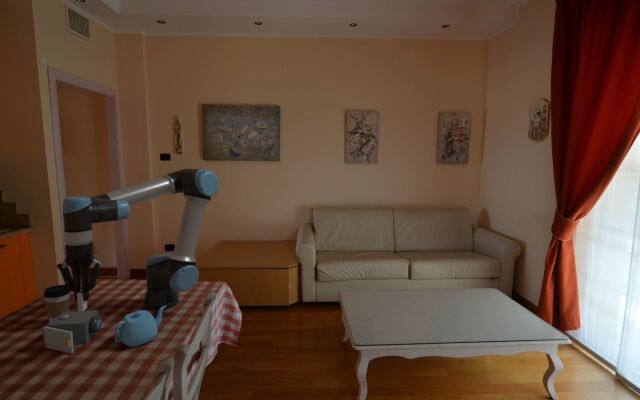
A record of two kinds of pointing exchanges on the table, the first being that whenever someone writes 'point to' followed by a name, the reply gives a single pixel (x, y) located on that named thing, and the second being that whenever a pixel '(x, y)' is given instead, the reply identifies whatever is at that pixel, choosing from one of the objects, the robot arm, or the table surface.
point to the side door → (58, 339)
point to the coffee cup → (56, 301)
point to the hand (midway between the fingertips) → (82, 309)
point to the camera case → (78, 324)
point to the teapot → (138, 327)
